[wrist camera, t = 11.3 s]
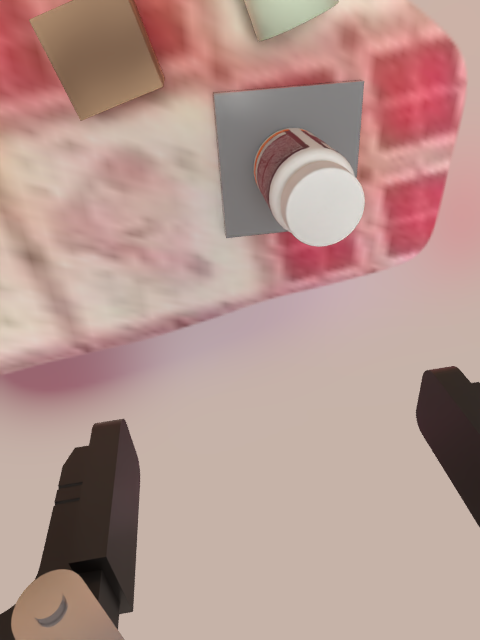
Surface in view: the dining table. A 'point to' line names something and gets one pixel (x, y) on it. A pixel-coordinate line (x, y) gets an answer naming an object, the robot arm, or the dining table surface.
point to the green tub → (283, 14)
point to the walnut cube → (99, 53)
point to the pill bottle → (308, 187)
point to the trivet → (264, 120)
